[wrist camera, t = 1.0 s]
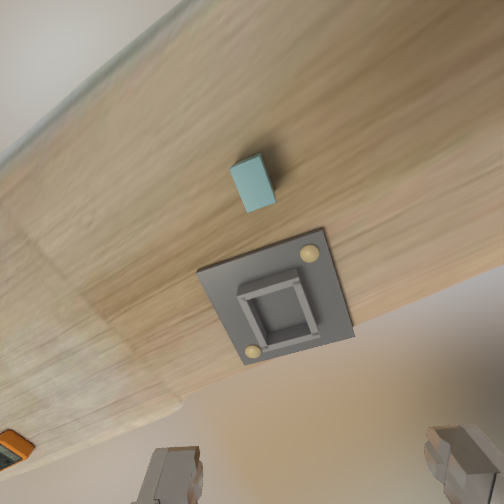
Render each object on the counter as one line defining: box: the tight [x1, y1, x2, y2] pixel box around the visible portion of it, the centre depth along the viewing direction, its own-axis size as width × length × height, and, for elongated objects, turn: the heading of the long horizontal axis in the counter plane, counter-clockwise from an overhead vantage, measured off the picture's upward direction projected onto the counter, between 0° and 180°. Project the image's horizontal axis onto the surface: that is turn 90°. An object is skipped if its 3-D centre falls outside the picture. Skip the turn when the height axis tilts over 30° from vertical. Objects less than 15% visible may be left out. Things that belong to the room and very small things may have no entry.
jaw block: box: [229, 153, 276, 213], centre depth 37 cm, size 4×6×7 cm, turn 21°
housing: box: [196, 228, 355, 366], centre depth 47 cm, size 22×22×4 cm
